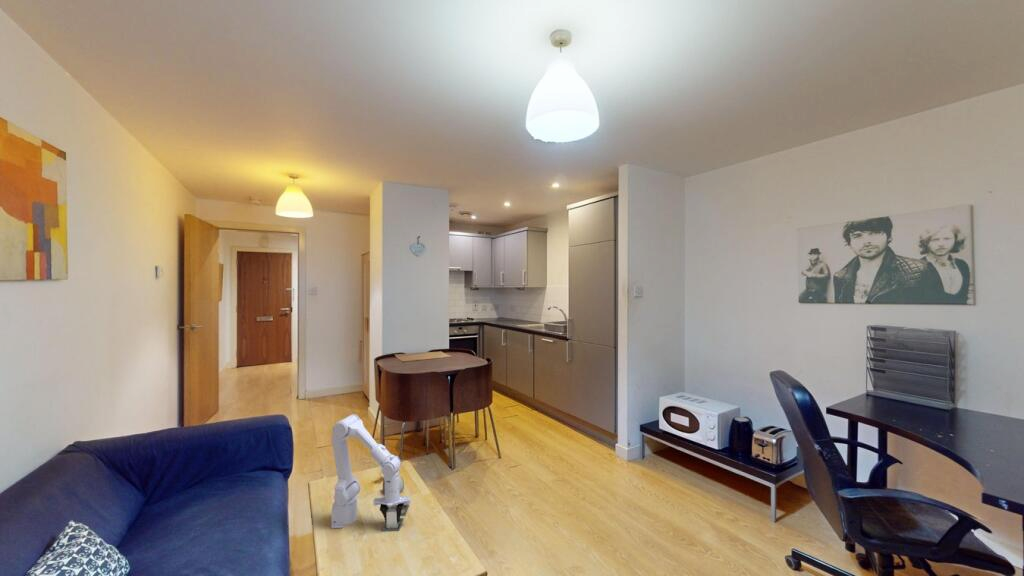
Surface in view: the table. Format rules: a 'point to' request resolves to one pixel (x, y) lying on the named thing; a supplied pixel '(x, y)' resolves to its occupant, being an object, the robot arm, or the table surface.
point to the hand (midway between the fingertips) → (392, 521)
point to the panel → (403, 513)
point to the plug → (392, 517)
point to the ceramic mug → (401, 485)
